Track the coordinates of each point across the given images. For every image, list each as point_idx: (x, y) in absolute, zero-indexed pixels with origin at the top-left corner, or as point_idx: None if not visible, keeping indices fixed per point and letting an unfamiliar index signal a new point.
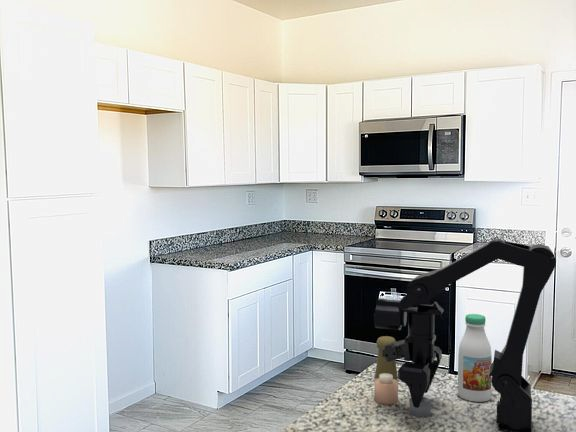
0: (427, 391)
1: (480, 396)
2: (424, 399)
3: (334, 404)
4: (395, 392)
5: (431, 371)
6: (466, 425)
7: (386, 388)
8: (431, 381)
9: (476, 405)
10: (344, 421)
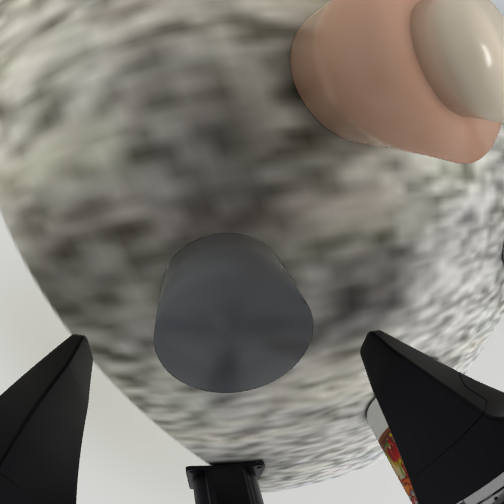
0: (364, 361)
1: (371, 428)
2: (265, 360)
3: None
4: (372, 131)
5: (426, 470)
6: (178, 429)
7: (352, 40)
8: (388, 426)
9: (346, 414)
10: None
